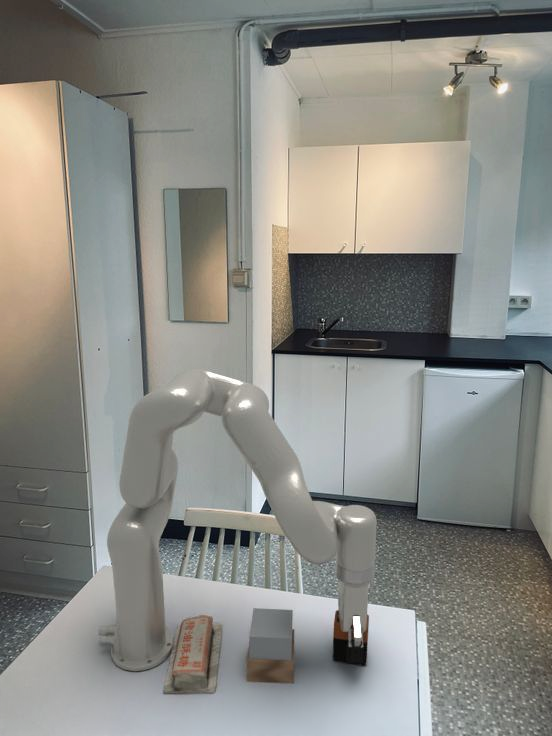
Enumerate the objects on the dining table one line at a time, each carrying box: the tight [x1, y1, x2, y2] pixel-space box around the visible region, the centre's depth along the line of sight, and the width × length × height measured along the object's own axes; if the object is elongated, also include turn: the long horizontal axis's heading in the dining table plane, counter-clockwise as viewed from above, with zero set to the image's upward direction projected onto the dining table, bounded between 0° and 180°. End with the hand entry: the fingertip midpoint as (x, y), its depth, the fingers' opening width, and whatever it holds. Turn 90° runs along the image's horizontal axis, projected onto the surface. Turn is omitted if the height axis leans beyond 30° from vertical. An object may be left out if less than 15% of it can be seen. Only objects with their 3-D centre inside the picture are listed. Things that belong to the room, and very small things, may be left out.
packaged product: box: [162, 614, 223, 695], centre depth 108 cm, size 18×5×10 cm
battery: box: [332, 609, 370, 667], centre depth 108 cm, size 4×7×10 cm, turn 78°
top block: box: [248, 607, 294, 661], centre depth 105 cm, size 8×8×5 cm
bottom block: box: [246, 628, 295, 684], centre depth 107 cm, size 9×9×5 cm
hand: (352, 643), depth 109 cm, fingers open, 9 cm apart
